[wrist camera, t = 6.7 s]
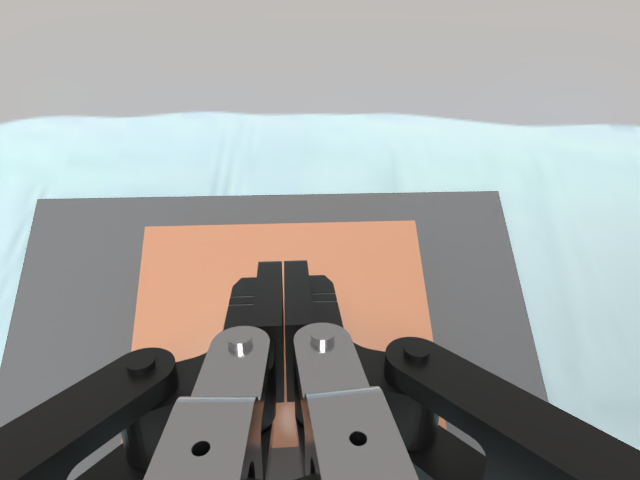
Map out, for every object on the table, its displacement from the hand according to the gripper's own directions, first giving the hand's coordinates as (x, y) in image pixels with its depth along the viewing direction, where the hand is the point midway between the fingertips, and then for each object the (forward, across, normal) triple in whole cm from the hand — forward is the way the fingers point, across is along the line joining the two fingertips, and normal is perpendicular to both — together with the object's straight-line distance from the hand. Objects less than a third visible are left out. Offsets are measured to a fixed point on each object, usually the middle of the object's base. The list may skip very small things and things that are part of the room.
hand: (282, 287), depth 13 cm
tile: (+1, 0, +7) cm, 7 cm away
